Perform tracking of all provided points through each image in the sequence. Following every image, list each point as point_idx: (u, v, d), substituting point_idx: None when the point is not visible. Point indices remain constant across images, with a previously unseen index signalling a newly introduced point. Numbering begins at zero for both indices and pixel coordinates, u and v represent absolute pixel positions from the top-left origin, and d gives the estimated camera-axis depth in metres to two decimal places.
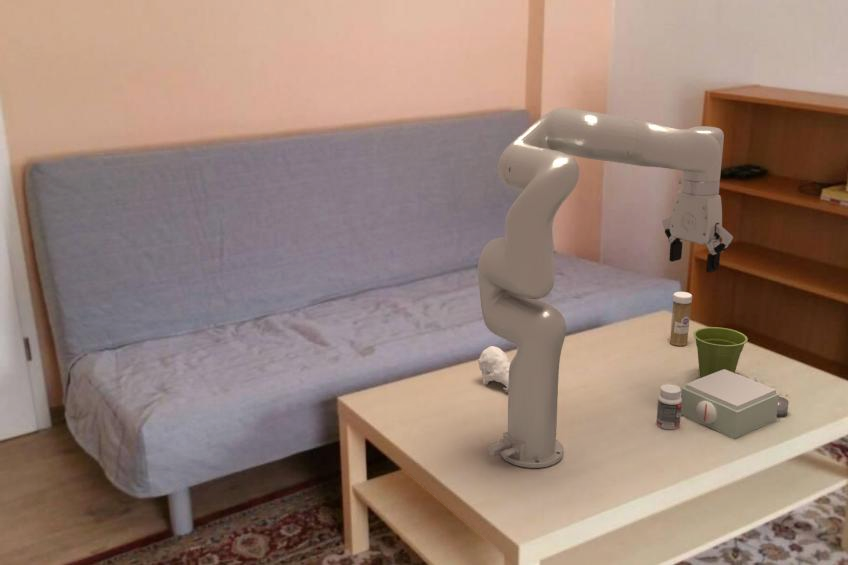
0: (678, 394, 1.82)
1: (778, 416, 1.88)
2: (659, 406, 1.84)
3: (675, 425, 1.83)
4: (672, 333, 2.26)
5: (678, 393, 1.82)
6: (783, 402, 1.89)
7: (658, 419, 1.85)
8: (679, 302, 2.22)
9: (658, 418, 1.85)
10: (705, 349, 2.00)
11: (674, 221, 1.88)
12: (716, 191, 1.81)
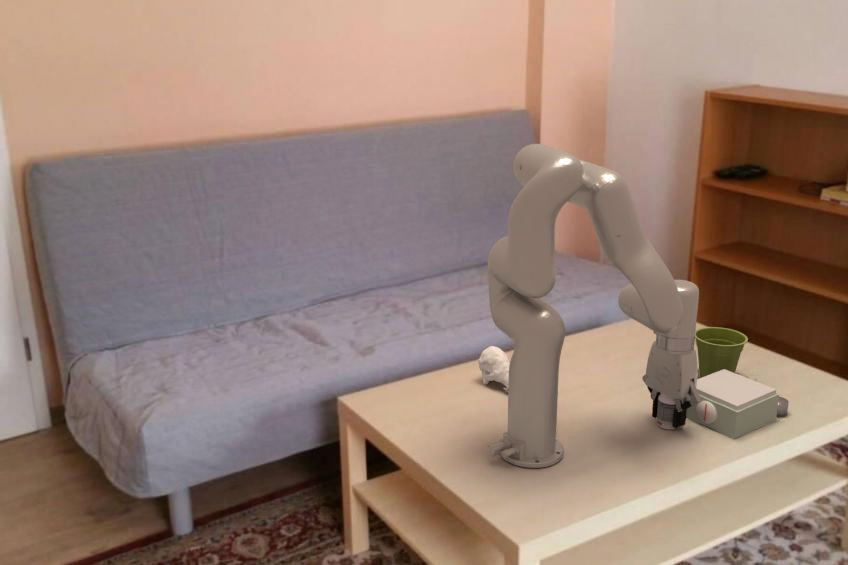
0: None
1: (778, 416, 1.88)
2: (659, 406, 1.84)
3: None
4: None
5: None
6: (783, 402, 1.89)
7: (658, 419, 1.85)
8: None
9: (658, 418, 1.85)
10: (705, 349, 2.00)
11: (649, 372, 1.84)
12: (691, 347, 1.77)
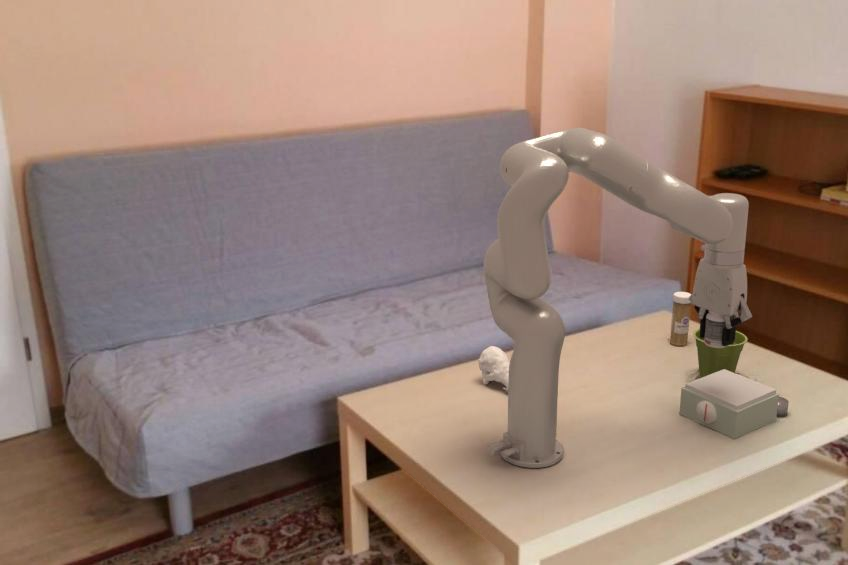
0: None
1: (778, 416, 1.88)
2: (707, 324, 1.80)
3: None
4: (672, 333, 2.26)
5: None
6: (783, 402, 1.89)
7: (706, 338, 1.81)
8: (679, 302, 2.22)
9: (706, 337, 1.81)
10: (705, 349, 2.00)
11: (697, 290, 1.80)
12: (741, 261, 1.74)
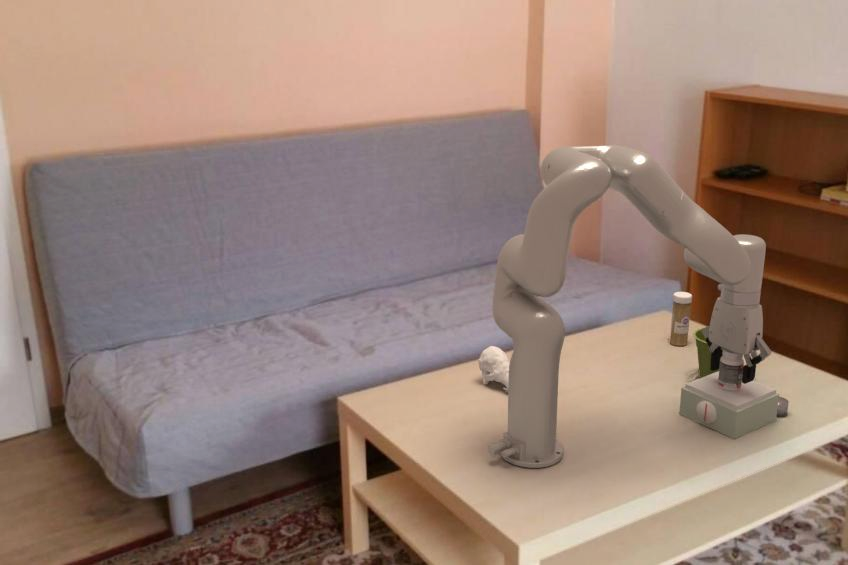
0: (741, 355, 1.83)
1: (778, 416, 1.88)
2: (721, 367, 1.85)
3: (737, 386, 1.84)
4: (672, 333, 2.26)
5: (741, 354, 1.83)
6: (783, 402, 1.89)
7: (720, 381, 1.86)
8: (679, 302, 2.22)
9: (720, 380, 1.86)
10: (705, 349, 2.00)
11: (713, 328, 1.84)
12: (757, 301, 1.78)
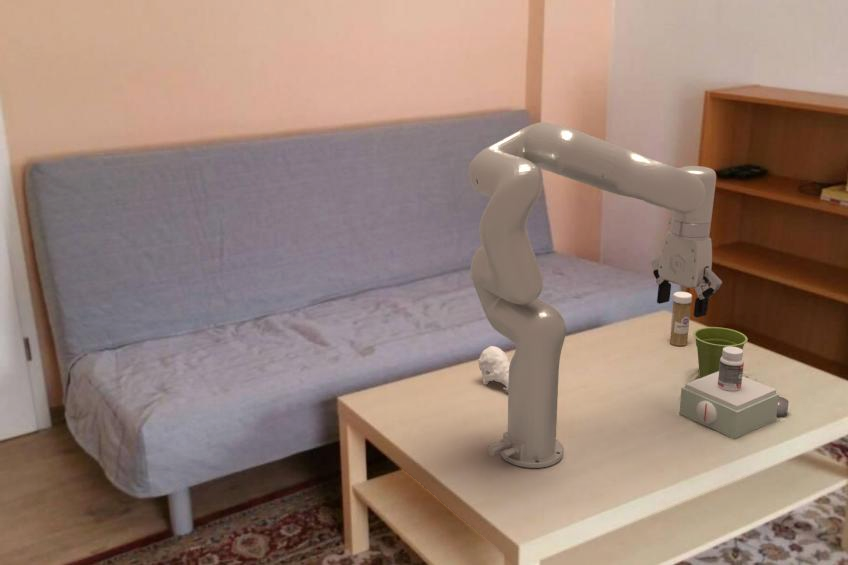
0: (741, 355, 1.83)
1: (778, 416, 1.88)
2: (721, 367, 1.85)
3: (737, 386, 1.84)
4: (672, 333, 2.26)
5: (741, 354, 1.83)
6: (783, 402, 1.89)
7: (720, 381, 1.86)
8: (679, 302, 2.22)
9: (720, 380, 1.86)
10: (705, 349, 2.00)
11: (663, 262, 1.81)
12: (706, 233, 1.75)
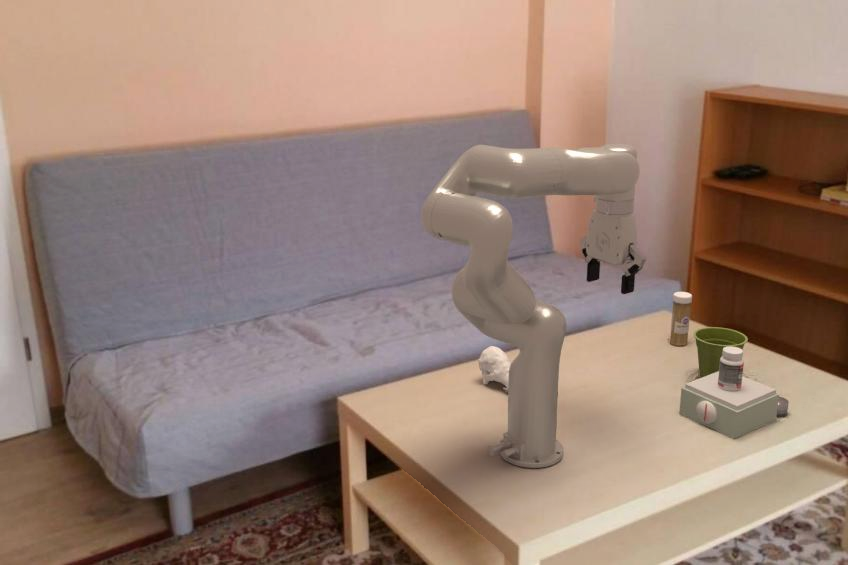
0: (741, 355, 1.83)
1: (778, 416, 1.88)
2: (721, 367, 1.85)
3: (737, 386, 1.84)
4: (672, 333, 2.26)
5: (741, 354, 1.83)
6: (783, 402, 1.89)
7: (720, 381, 1.86)
8: (679, 302, 2.22)
9: (720, 380, 1.86)
10: (705, 349, 2.00)
11: (589, 240, 1.82)
12: (630, 210, 1.76)
